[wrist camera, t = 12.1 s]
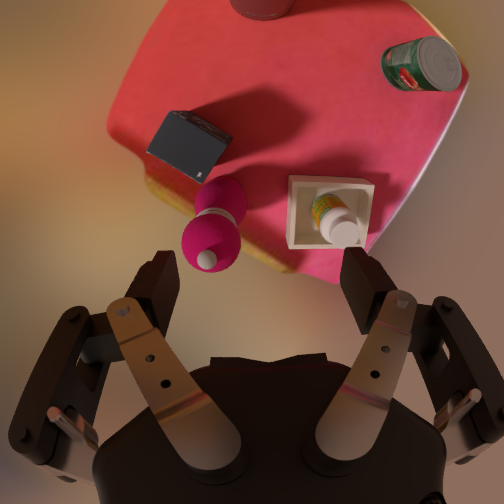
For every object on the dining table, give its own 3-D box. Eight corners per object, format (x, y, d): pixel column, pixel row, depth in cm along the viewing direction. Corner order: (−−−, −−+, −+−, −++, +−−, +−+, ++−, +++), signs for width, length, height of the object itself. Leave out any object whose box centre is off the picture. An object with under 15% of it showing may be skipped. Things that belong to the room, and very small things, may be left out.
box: (233, 136, 37) (229, 145, 28) (212, 167, 39) (201, 186, 30) (188, 109, 35) (168, 109, 26) (168, 141, 37) (144, 152, 28)
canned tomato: (386, 92, 33) (425, 91, 24) (374, 46, 29) (410, 32, 20) (424, 90, 32) (466, 92, 23) (414, 47, 29) (454, 39, 19)
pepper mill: (196, 176, 40) (157, 231, 22) (244, 170, 40) (242, 222, 22) (203, 219, 43) (176, 299, 26) (249, 215, 43) (250, 294, 26)
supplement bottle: (316, 188, 41) (334, 211, 32) (347, 197, 41) (371, 221, 33) (305, 220, 43) (319, 249, 35) (335, 227, 44) (355, 257, 35)
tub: (288, 174, 40) (292, 181, 37) (364, 178, 40) (374, 185, 37) (285, 237, 45) (289, 249, 42) (356, 237, 45) (364, 247, 42)
